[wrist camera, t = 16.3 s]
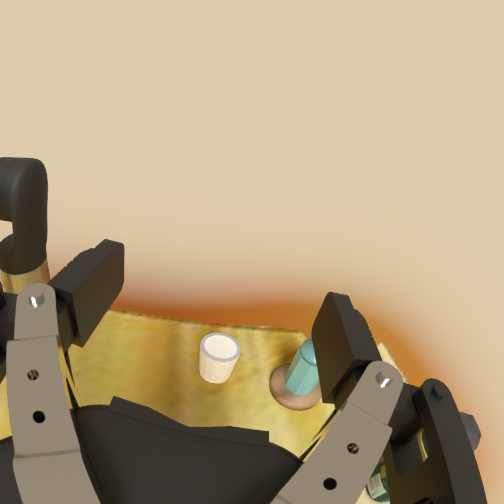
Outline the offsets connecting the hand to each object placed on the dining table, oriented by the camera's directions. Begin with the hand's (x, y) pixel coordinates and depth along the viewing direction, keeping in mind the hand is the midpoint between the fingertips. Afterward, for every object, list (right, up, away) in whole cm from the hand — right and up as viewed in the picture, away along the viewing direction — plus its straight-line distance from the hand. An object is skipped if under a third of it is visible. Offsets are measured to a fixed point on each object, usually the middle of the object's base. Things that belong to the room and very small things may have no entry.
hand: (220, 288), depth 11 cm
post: (+9, -24, +37) cm, 45 cm away
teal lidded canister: (+10, -22, +36) cm, 44 cm away
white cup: (-6, -20, +37) cm, 43 cm away
